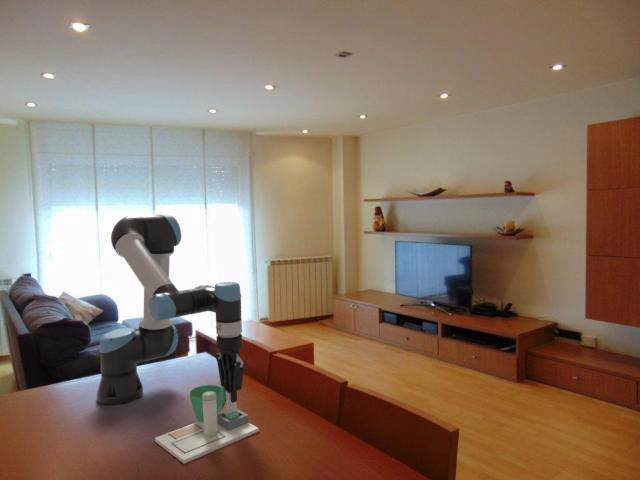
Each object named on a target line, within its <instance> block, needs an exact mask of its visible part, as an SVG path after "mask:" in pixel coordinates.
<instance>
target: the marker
mask: <svg viewBox="0 0 640 480" xmlns="http://www.w3.org/2000/svg"><path fill="white" fill-rule="evenodd" d="M202 400H203V418H204V433H206V437H214V436H216V432H217V431H218V424H217V403H216V392H212V391H210V392H205V393H203V394H202Z"/></svg>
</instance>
